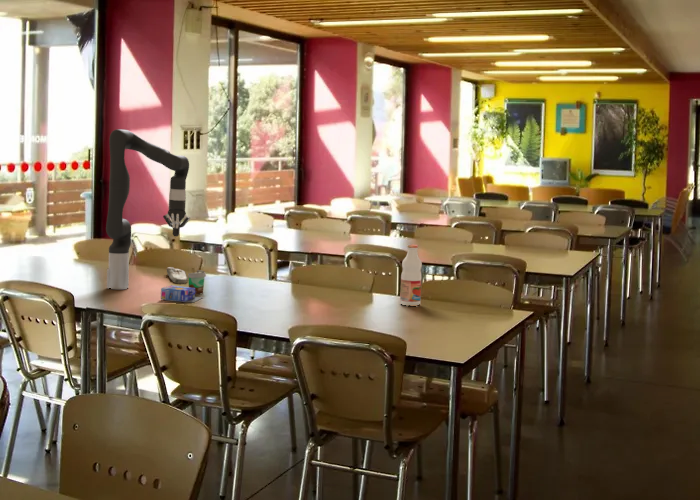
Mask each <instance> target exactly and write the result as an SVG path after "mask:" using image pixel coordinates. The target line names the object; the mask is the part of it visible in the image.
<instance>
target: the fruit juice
mask: <svg viewBox="0 0 700 500" xmlns="http://www.w3.org/2000/svg"><path fill="white" fill-rule="evenodd" d="M418 249H419V245H418V244H413V243H412V244H411V243H410V244H407V253H406V256H405V257H404V258H403V259H402V263H401V267H402V272H401V275H400V291H399V292H400V296H399V304H403V305H419V304H420V305H421V300H422V299H421V297H422V272H421V270H422V267H423V263H422V260H421V258H420V257H419V253H418Z"/></svg>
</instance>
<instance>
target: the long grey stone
mask: <svg viewBox="0 0 700 500" xmlns="http://www.w3.org/2000/svg"><path fill="white" fill-rule="evenodd" d="M165 270H166V274H167V276H169V277H168V278H169V279H170V280H171V281H172V282H173V283H175V284H178V285H183V284H186V283H187V282H189V278H188V274H187V272H186V271H185V270H184V269H180V268H175V267H173V266H168V267H166V269H165Z"/></svg>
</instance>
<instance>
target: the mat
mask: <svg viewBox="0 0 700 500" xmlns="http://www.w3.org/2000/svg"><path fill="white" fill-rule="evenodd" d="M203 298H204V297H203V296H195V299H192V300H188V301H185V302H184V303H196V302H197V301H199V300H202V299H203ZM165 301H166V302H173V301H172V300H165ZM176 302H178V303H179V302H180V303H183V302H182V301H176Z"/></svg>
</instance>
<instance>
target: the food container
mask: <svg viewBox="0 0 700 500" xmlns="http://www.w3.org/2000/svg"><path fill="white" fill-rule="evenodd" d="M205 277H207V273H206V272H205V271H204V270H202V269H201V270H200V269H196V271H195V272H188V274H187V278H188V287H192V288H195V295H200V294H203V293H204V285H205ZM196 291H197V292H196Z"/></svg>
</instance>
